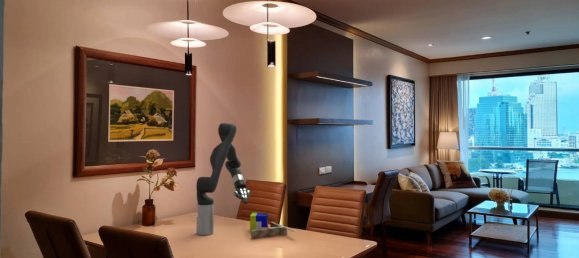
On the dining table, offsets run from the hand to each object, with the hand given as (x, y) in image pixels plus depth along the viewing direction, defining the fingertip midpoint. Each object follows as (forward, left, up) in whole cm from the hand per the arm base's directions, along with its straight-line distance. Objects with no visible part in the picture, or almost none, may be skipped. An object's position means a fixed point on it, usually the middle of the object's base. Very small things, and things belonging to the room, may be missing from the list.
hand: (246, 203), depth 268 cm
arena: (-1, -34, -14) cm, 37 cm away
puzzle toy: (0, -20, -14) cm, 25 cm away
